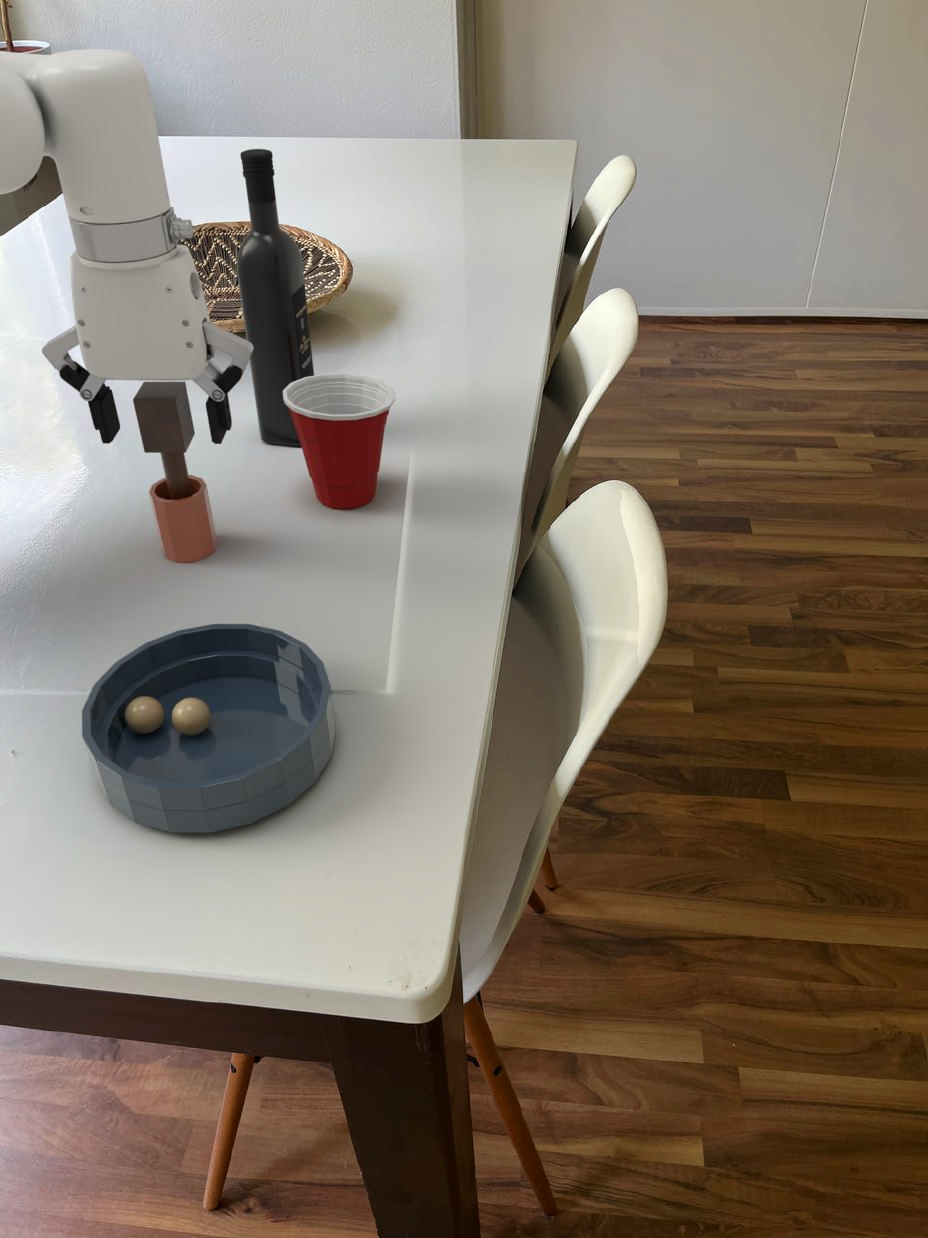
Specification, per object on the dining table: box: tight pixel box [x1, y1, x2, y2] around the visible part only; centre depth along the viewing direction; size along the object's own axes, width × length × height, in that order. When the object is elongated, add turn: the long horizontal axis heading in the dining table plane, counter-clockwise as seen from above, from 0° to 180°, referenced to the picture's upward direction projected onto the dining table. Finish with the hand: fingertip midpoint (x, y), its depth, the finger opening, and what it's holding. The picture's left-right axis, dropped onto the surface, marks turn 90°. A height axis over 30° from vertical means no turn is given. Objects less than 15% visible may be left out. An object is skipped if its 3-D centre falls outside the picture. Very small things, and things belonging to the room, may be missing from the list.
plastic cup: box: [283, 373, 397, 511], centre depth 98 cm, size 11×11×12 cm
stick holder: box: [148, 474, 218, 564], centre depth 92 cm, size 5×5×7 cm
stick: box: [132, 381, 196, 500], centre depth 89 cm, size 4×4×16 cm
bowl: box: [81, 623, 336, 834], centre depth 72 cm, size 17×17×5 cm
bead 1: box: [125, 696, 164, 734], centre depth 73 cm, size 3×3×3 cm
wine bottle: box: [236, 148, 315, 447], centre depth 104 cm, size 6×6×30 cm
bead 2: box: [172, 698, 211, 736], centre depth 73 cm, size 3×3×3 cm
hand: (166, 436), depth 87 cm, fingers open, 9 cm apart
